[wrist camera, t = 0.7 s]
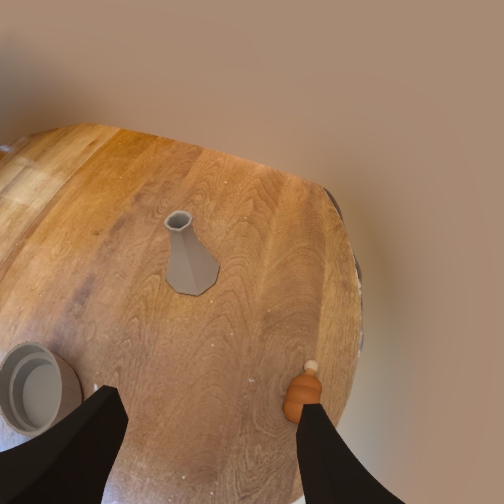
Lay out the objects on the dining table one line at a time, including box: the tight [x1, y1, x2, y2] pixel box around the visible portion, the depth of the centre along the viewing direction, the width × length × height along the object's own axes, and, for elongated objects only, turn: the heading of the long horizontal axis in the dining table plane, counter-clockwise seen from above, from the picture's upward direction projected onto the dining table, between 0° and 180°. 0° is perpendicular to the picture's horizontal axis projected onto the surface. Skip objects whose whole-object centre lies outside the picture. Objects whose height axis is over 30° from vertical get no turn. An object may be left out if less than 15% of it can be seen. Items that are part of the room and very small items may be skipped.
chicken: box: [283, 360, 322, 423], centre depth 26 cm, size 8×3×3 cm, turn 161°
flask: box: [164, 210, 220, 296], centre depth 34 cm, size 7×7×10 cm
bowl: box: [0, 341, 82, 438], centre depth 23 cm, size 12×12×5 cm
